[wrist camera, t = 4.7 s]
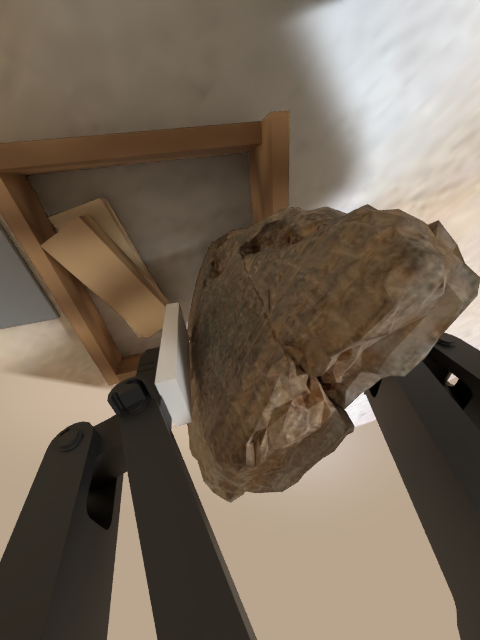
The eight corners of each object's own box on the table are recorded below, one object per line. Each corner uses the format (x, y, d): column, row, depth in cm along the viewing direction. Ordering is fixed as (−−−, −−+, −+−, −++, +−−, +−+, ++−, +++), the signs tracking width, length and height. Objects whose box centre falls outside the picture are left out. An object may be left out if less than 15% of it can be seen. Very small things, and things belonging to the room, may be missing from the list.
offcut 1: (59, 215, 19) (47, 217, 17) (107, 197, 19) (100, 197, 17) (141, 328, 26) (138, 338, 24) (176, 315, 26) (175, 323, 24)
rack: (-3, 157, 16) (-91, 141, 11) (260, 132, 18) (289, 110, 13) (116, 367, 27) (100, 407, 22) (268, 332, 30) (286, 361, 25)
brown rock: (213, 323, 27) (255, 542, 10) (174, 311, 25) (145, 556, 8) (266, 209, 22) (553, 264, 5) (222, 183, 20) (432, 118, 3)
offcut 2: (53, 241, 18) (40, 245, 16) (88, 214, 17) (78, 216, 16) (149, 328, 24) (146, 338, 22) (177, 309, 23) (176, 318, 22)
